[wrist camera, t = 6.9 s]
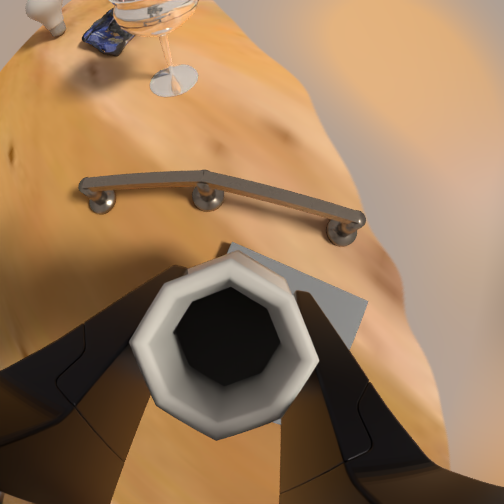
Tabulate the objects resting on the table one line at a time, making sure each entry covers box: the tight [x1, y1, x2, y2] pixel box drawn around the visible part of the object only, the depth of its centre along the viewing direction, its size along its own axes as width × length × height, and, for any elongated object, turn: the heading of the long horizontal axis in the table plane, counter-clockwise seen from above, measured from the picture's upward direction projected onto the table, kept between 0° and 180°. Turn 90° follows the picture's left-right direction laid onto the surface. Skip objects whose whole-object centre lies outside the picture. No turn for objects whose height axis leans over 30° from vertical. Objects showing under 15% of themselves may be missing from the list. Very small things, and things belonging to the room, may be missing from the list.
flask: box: [129, 250, 319, 441], centre depth 9 cm, size 7×7×10 cm
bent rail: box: [78, 170, 366, 247], centre depth 20 cm, size 4×22×4 cm, turn 83°
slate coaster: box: [227, 242, 368, 425], centre depth 19 cm, size 11×11×1 cm
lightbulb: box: [26, 0, 66, 37], centre depth 21 cm, size 6×6×11 cm
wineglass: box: [109, 0, 198, 97], centre depth 18 cm, size 7×7×12 cm
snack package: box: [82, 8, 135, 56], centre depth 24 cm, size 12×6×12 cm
